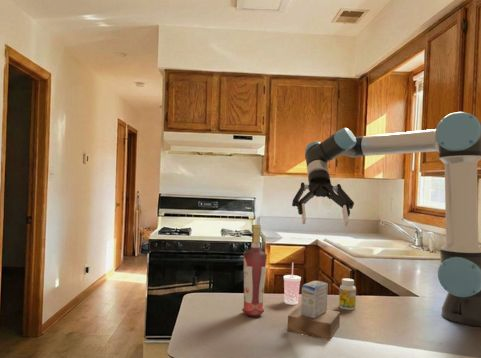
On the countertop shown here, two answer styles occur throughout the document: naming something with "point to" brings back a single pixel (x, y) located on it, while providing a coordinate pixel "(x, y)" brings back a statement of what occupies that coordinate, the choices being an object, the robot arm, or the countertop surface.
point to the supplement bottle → (347, 294)
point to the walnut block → (314, 324)
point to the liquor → (254, 276)
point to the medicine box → (314, 299)
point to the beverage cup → (291, 288)
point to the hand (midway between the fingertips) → (325, 222)
